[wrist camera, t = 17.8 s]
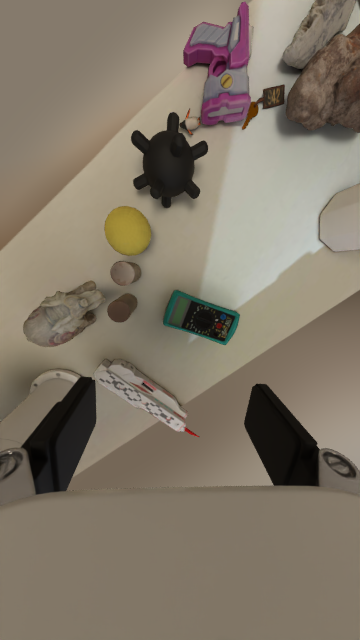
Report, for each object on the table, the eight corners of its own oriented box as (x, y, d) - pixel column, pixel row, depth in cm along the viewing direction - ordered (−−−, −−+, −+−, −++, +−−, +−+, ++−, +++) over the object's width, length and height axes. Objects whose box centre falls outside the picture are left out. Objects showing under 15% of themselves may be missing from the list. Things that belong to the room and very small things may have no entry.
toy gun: (187, 110, 27) (257, 99, 26) (180, 10, 25) (256, -5, 24) (188, 129, 30) (250, 119, 29) (181, 41, 28) (248, 29, 27)
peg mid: (140, 282, 36) (134, 286, 29) (122, 280, 36) (110, 284, 28) (141, 263, 35) (135, 262, 28) (122, 261, 35) (110, 259, 27)
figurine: (118, 318, 41) (120, 345, 28) (49, 340, 38) (12, 382, 24) (103, 276, 38) (96, 283, 24) (25, 296, 35) (-32, 317, 21)
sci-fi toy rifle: (112, 349, 40) (210, 420, 47) (95, 370, 41) (193, 436, 47) (108, 357, 36) (213, 432, 43) (88, 379, 37) (196, 449, 44)
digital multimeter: (224, 342, 41) (229, 347, 38) (161, 321, 39) (161, 325, 36) (238, 312, 40) (244, 315, 37) (173, 288, 37) (174, 290, 34)
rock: (275, 172, 36) (312, 167, 28) (264, 85, 29) (310, 46, 21) (370, 118, 34) (441, 95, 26) (383, 9, 27) (486, -69, 19)
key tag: (280, 79, 29) (283, 76, 29) (284, 103, 31) (287, 101, 30) (235, 108, 30) (237, 106, 29) (241, 131, 31) (243, 129, 30)
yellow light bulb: (131, 264, 35) (118, 263, 26) (109, 232, 33) (86, 218, 24) (160, 245, 35) (158, 236, 25) (139, 210, 33) (129, 187, 23)
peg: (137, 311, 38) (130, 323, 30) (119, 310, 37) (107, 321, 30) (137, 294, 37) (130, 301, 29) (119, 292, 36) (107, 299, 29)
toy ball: (112, 129, 27) (189, 77, 24) (149, 197, 36) (208, 167, 33) (109, 166, 22) (205, 108, 19) (152, 234, 31) (222, 203, 28)
